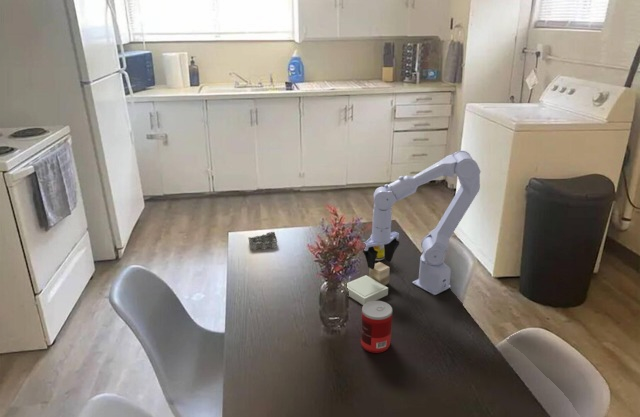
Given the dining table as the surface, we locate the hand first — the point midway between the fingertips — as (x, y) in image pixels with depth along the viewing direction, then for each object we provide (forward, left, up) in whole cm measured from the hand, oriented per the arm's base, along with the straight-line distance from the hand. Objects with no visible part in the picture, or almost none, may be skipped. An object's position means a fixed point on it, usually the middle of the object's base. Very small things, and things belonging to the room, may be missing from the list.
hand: (379, 264), depth 151 cm
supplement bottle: (+13, -12, -7) cm, 19 cm away
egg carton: (+47, +15, -7) cm, 50 cm away
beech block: (0, 0, -7) cm, 7 cm away
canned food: (-22, +23, -7) cm, 33 cm away
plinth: (-2, +8, -7) cm, 11 cm away
